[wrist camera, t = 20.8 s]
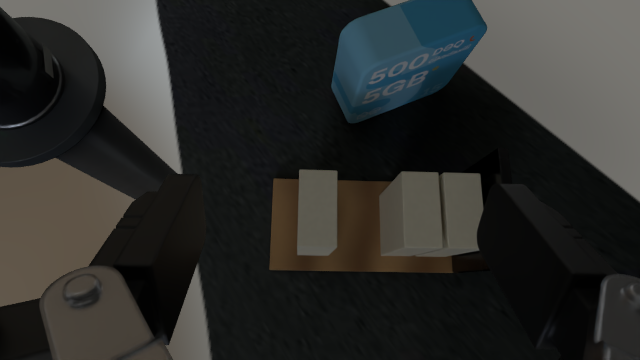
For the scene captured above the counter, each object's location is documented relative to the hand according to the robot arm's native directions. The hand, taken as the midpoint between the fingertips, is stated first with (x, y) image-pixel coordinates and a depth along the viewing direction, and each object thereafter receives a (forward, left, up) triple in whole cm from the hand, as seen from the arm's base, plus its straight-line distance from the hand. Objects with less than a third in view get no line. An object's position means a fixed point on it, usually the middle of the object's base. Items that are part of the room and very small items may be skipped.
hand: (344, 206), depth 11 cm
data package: (+8, +19, -29) cm, 35 cm away
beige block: (0, +4, -28) cm, 28 cm away
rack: (+5, +4, -29) cm, 29 cm away
